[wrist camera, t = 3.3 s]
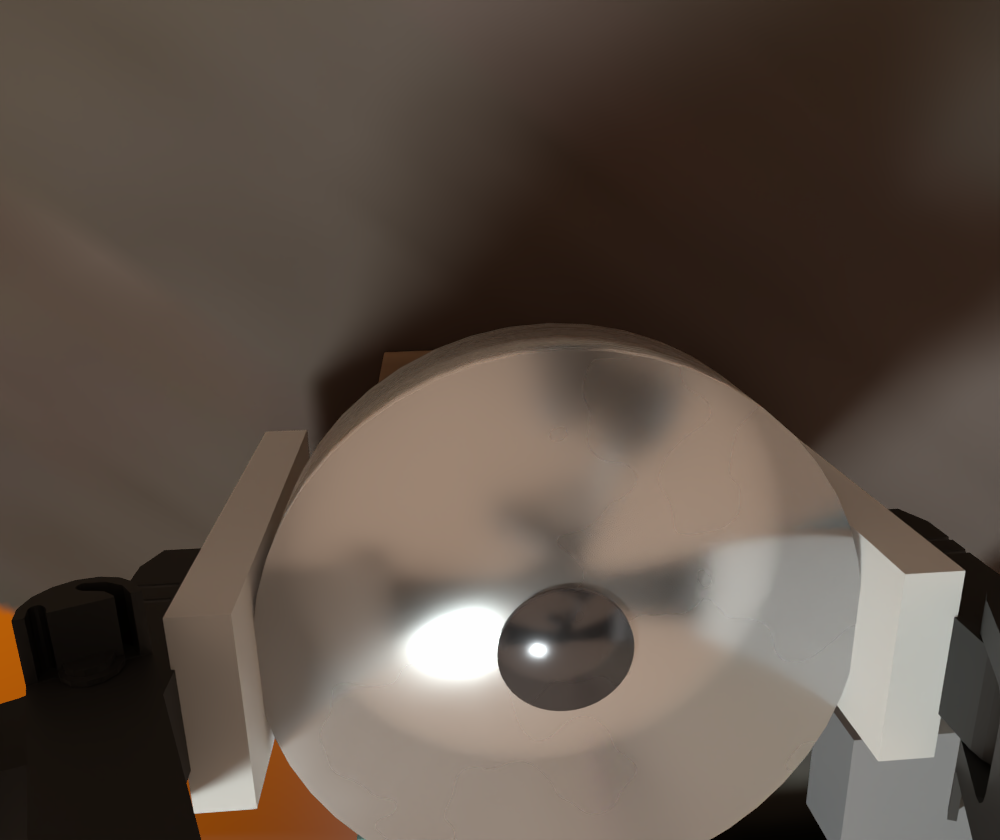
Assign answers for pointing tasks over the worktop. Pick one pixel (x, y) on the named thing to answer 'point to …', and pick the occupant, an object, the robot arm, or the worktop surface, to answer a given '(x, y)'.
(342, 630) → the disc
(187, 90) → the worktop surface
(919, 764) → the teal grey flat block
